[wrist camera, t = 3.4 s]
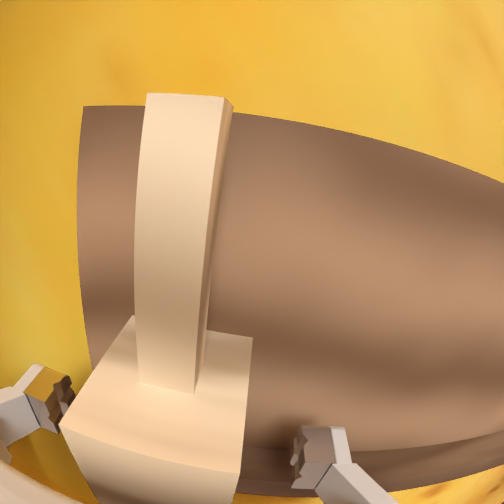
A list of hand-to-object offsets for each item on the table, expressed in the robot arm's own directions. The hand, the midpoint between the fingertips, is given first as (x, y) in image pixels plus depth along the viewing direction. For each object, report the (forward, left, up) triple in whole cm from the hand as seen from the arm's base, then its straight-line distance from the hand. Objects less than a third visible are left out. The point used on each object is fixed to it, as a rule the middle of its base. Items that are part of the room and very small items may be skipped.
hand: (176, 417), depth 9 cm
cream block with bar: (-3, 0, -1) cm, 3 cm away
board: (-2, +11, -4) cm, 12 cm away
